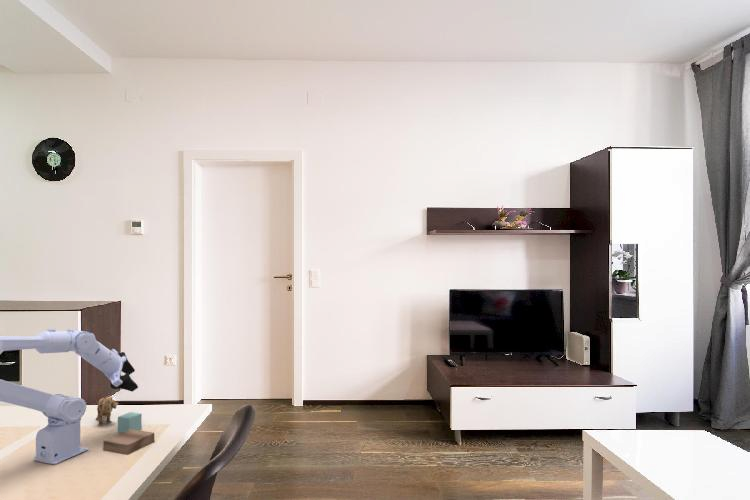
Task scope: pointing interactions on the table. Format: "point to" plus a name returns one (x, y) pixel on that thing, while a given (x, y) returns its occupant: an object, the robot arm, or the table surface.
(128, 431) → the walnut base block
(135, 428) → the teal brick
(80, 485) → the table surface
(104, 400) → the lion figurine
